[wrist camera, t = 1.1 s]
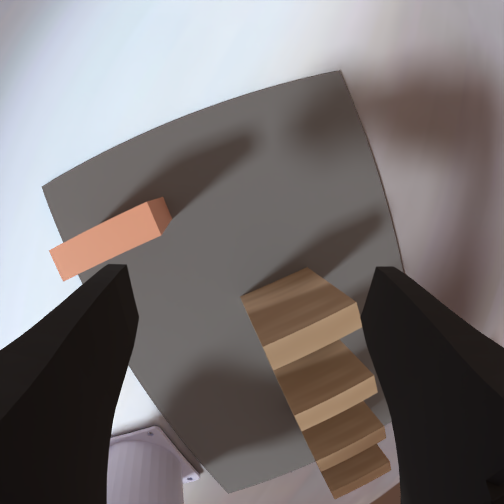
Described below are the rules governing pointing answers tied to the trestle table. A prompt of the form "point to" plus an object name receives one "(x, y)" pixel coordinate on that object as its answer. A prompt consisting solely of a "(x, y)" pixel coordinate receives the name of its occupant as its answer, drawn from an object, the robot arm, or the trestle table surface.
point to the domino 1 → (111, 238)
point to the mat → (237, 256)
